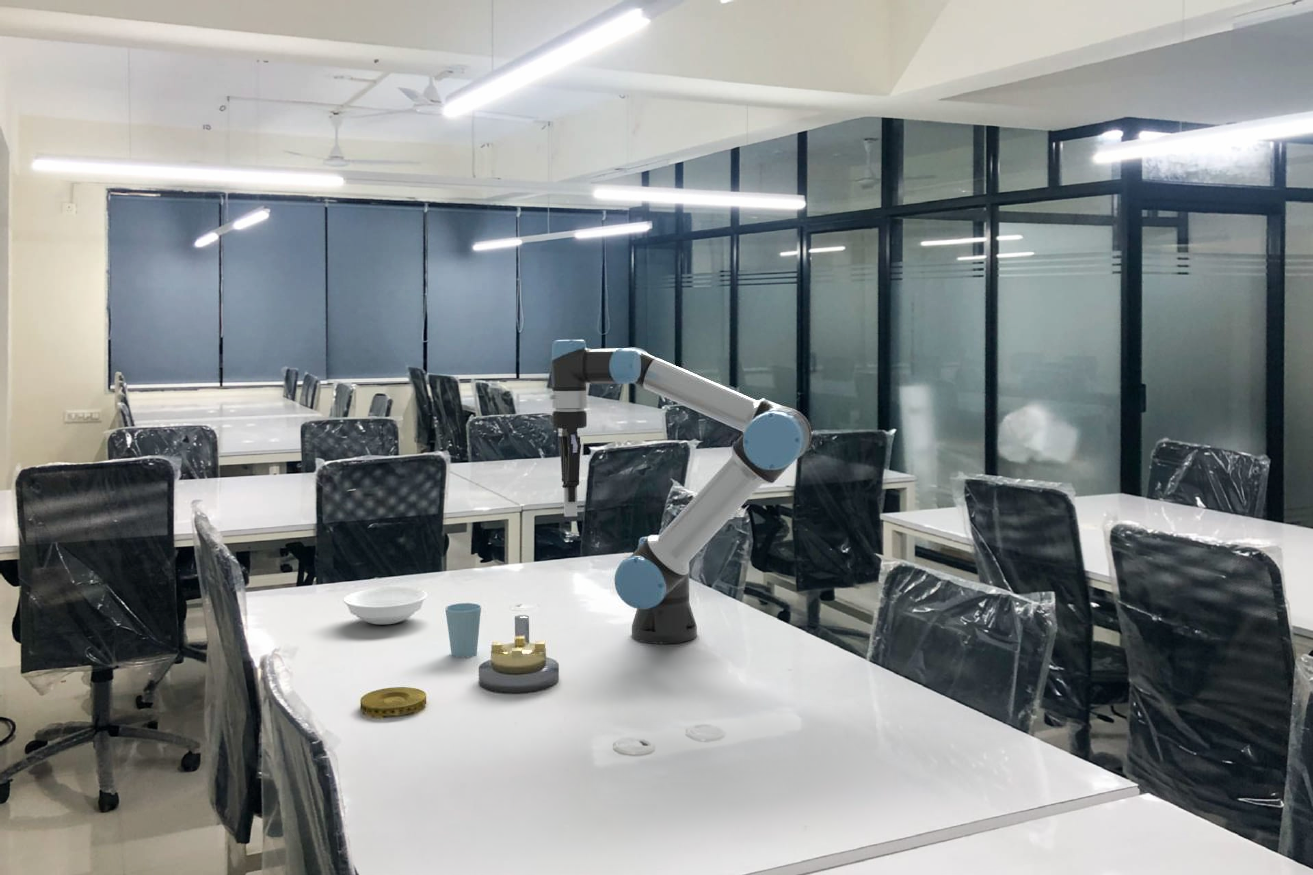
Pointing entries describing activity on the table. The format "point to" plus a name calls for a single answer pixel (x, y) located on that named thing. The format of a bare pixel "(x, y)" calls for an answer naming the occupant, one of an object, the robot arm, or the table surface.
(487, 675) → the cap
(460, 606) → the cup
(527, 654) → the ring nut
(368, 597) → the bowl
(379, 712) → the gold gear disc
